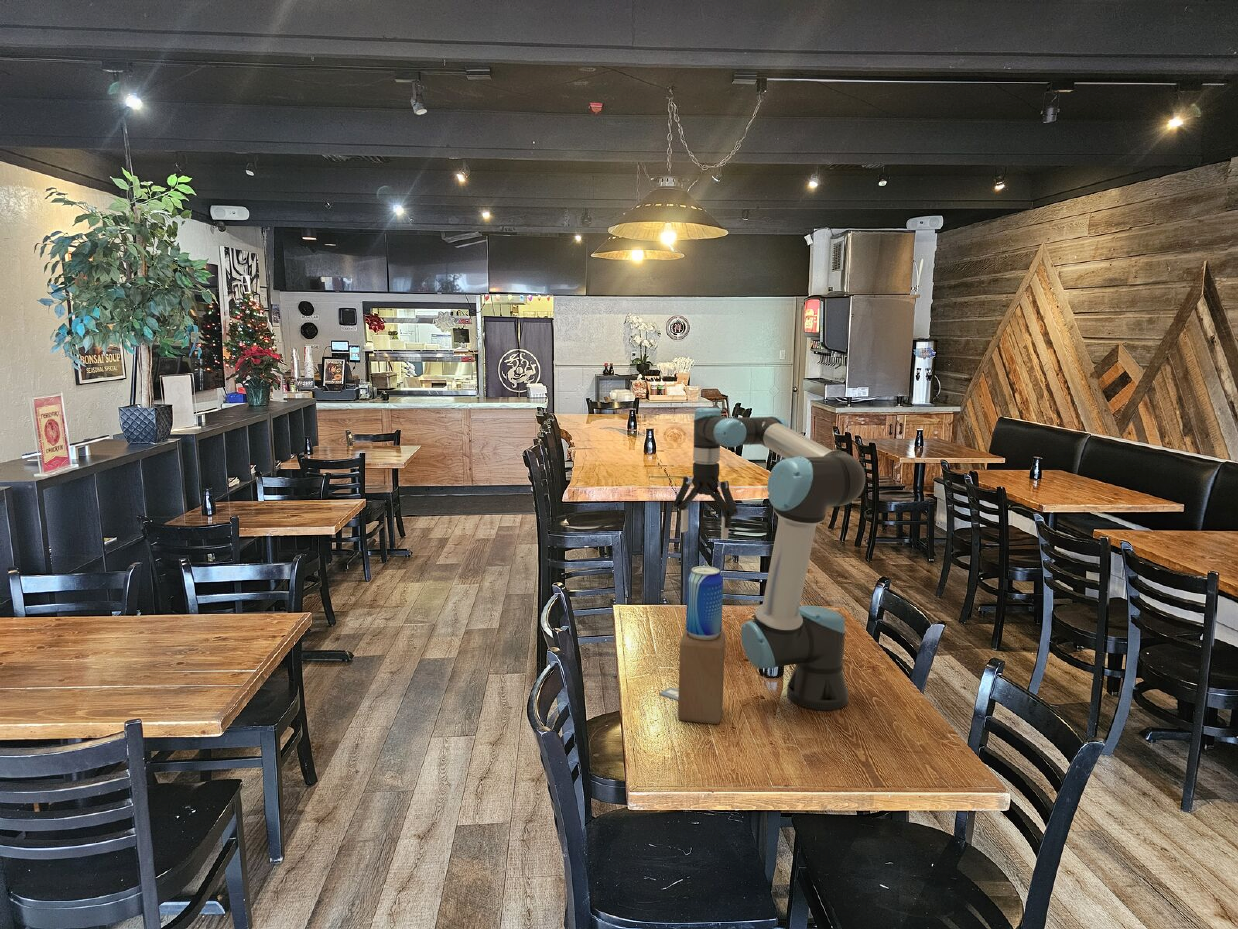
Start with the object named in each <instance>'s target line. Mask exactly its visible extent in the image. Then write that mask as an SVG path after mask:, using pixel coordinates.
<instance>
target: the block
mask: <svg viewBox="0 0 1238 929" xmlns="http://www.w3.org/2000/svg"><path fill="white" fill-rule="evenodd" d="M725 634H726V633H725V632H724V631H723V630H721V633H720V634H719V635H718V637H717V638H715V639H712V640H699V639H695V638H692V637H691V636H690V635H689V633H688V632H687V630H686V628H685V629H684V631H683V634H682V636H681V638H680V641H679V660H678V661H679V662H678V665H679V666H678V690H679V696H678V701H677V702H678V704H677V717H678V720H680V721H685V722H693V723H695V722H696V723H704V724H712V725H713V724H714V725H717V724H719V723H720V722H721V718H722V711H723V705H724V700H723V699H724V679H725V678H724V676H725V653H726V652H725V650H726V635H725Z"/></svg>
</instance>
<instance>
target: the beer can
mask: <svg viewBox="0 0 1238 929" xmlns="http://www.w3.org/2000/svg"><path fill="white" fill-rule="evenodd" d="M686 582H687V584H686V586H687V588H686V618H685V621H686V623H685V629H686V630H687V632H688V633H689V635H690V636H691V637H692V638H695V639H699V640H712V639H715V638H717V637H718V635H719V634H720V633H721V631H723V630H722V626H723V625H722V624H723V623H722V622H723V600H724V599H723V598H724V596H723V595H724V594H723V593H724V578H723V577H722V575H721V574H720V569H719V568H718V567H717V568H716V567H713V566H708V565H705V566H704V565H701V566H700V565H699V566H695V567H692V568H691V572H690V573H689V575H688V576H687V581H686Z"/></svg>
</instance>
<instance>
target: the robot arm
mask: <svg viewBox="0 0 1238 929" xmlns="http://www.w3.org/2000/svg"><path fill="white" fill-rule="evenodd" d="M752 445H761V446H763V447H765V448H767V449H768V450H771V451H772V452H774V453H775V454H777V455H779V456H780V457H782V458H784V459H782V460H781V461H779V462H777V463H776V464H775V465H774V466H773V468H772V469H771V470H770V474H769V476H768V480H767V484H766V485H767V486H766V487H767V489H766V490H767V492H768V494H767V495H768V496H767V497H768V500H769V502H770V505H772V506H773V511H774V513H775V514H776V515H777V517H778V521H777V528H776V532H775V538H774V543H773V547H772V548H773V549H772V554H771V557H770V558H771V559H770V563H769V569H768V574H767V580H766V585H765V591H764V596H763V600H762V604H759V605H757V607H756V608H755V611H754V614H753V619H752V620H748V621H746V622H744V623H743V624H742V625H741V629H740V640H741V645H742V648H743V651H744V654H745V656H746V659H748V661H749V662H750V664H751V665H753V667H755V668H756V669H762V670H763V669H764V670H765V669H775V668H778V667H779V668H780V667H785V666H791V665H794V669H793V670H792V673H791V675H790V678H789V681H788V683H787V688H786V696H787V698H788V699H789V700H790V701H791V702H792V703H794V704H796V705H798V706H800V707H803V708H805V709H806V708H807V709H809V710H815V711H816V710H817V711H835V710H841V709H842V708H844V707H846V706H847V705H848V703H849V691H848V687H847V682H846V679H845V676H844V672H843V668H844V667H843V666H844V651H845V650H844V648H845V635H846V633H847V632H846V620H845V617H844V616H843V615H842V614H841V613H839V612H838V611H836V610H833V609H830V608H827V607H823V606H817V605H809V604H807V605H806V604H805V605H801V602H802V595H803V592H804V586H805V581H806V577H807V572H808V566H809V563H810V562H809V561H810V557H811V552H812V548H813V545H814V544H813V542H814V539H815V534H816V533H815V532H816V529H817V526H818V525H819V524H821V523H823V522H825V519H826V514H827V511H828V508H832V507H842V506H846V505H849V504H851V503H852V502H854V501H855V500H857V499H858V497H860V495H861V494H862V493H863V491H864V489H865V488H864V487H865V485H866V473H865V470H864V467H863V466H862V464H861V462H860V461H858V459H857V458H856V457H854V456H852V455H850V454H849V453H846V452H845V451H843V450H840V449H833V450H831V449H830V448H828V447H826V446H825V445H822V444H820V443H819V442H816V441H814V440H812V439H811V438H809V437H807V436H805V435H803V434H801V433H799V432H798V431H796V430H793V429H791V428H789V424H788V423H787V422H786V419H785V418H783V417H780V416H778V417H777V416H759V417H755V416H754V417H753V416H752V417H723V416H722V411H721V409H720V408H718V407H698V408H696V409H695V411H694V419H693V448H692V449H693V453H692V461H694V462H693V463H692V476H693V477H692V476H690V475H687V476H684V477H683V480H682V485H681V487H680V489H679V490H678V491H679V492H678V493H677V495H676V498H675V499H674V501H673V507H676V508H677V509H678V520H679V521H680V533H686V532H689V509H688V506H689V505H690V504H691V503H692V501H693V500H694V499H695V498H696V497H697V496H698V495H705V496H710V497H711V498H712V499H713V501H714V502H715V504H716V505H717V507H718V508H719V509H720V511H721V513H722V514H723V516H721V529H720V540H721V541H722V540H723V541H724V540H726V539H729V530H730V528H732V517H733V516H735V515H738V514H739V511H738V508H737V506H736V503H735V501H734V498H733V495H732V492H731V490H730V483H729V481H728V480H724V481H720V480H719V476H720V463H719V462H720V457H721V456H720V455H721V452H720V451H721V446H723V447H724V448H736V447H739V446H752ZM691 485H692V486H693V487H692V488H691V490H690V492H689V493H688V491H689V489H690V487H691ZM718 488H719V489H720V490H719V489H718ZM720 491H721V492H720ZM687 493H688V495H687ZM721 494H722V495H721ZM800 605H801V606H800Z"/></svg>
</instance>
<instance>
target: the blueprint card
mask: <svg viewBox="0 0 1238 929" xmlns="http://www.w3.org/2000/svg"><path fill="white" fill-rule="evenodd" d="M658 694H659V696H662V697H664V698H669V699H670V698H671V699H670V700H673V699H674V701H676V700H677V702H678V696H679V688H675V687H671V686H669V687H668V688H666V689H664V690H662V691H660V692H659V693H658Z"/></svg>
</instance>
